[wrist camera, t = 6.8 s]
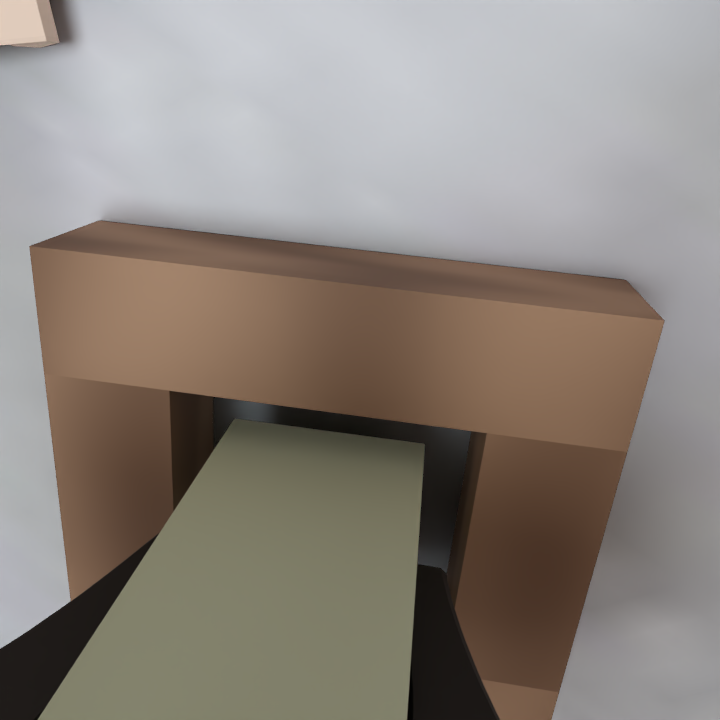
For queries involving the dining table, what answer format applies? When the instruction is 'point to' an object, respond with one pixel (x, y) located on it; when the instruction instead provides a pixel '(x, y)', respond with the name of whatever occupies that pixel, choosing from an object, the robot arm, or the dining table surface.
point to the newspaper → (27, 23)
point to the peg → (267, 589)
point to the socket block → (352, 402)
